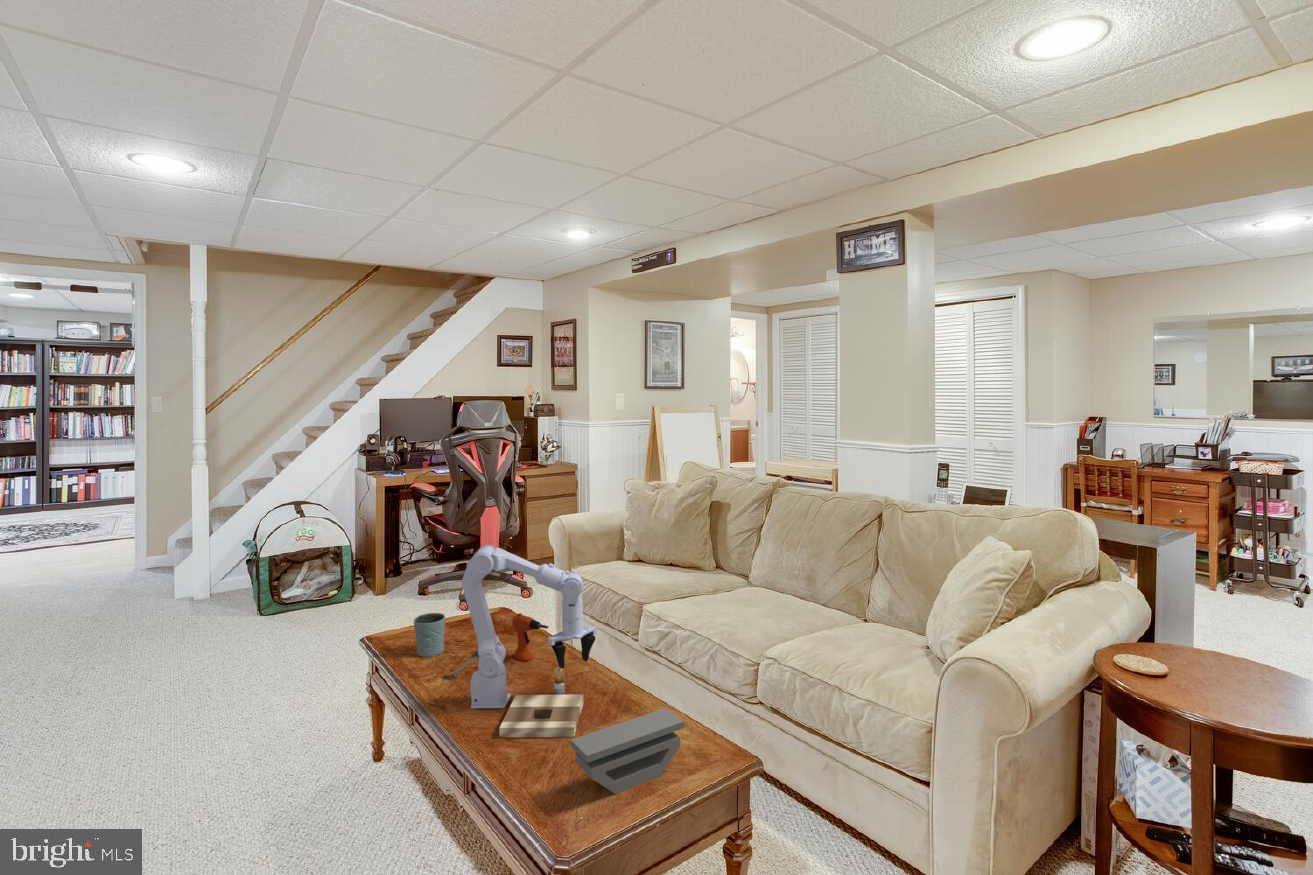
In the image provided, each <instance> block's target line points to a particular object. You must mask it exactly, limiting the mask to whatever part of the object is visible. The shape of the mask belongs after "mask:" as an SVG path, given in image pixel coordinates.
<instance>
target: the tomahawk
mask: <svg viewBox="0 0 1313 875" xmlns="http://www.w3.org/2000/svg"><path fill="white" fill-rule="evenodd" d="M477 658H479V655H478V650H476V651H474V653H473V655H472V656H471V657H469V658H468V659H467V660H466V661H465V662H463V663H462V664H461V665H460V666H458V667H457V668H456V669H455V670H453V672H452V673H451V674H450V675H447V674H445V675H443V676H442V679H443V678H447V679H446V680H450V679H455V680H454V681H456V680H457V679H456V677H457V676H458V673H460V672H461V671H462V670H463V669H465V668H466V667H467V666H468V665H470V663H472V662H473V661H475V659H477ZM453 676H454V677H453Z"/></svg>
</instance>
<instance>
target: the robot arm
mask: <svg viewBox="0 0 1313 875" xmlns="http://www.w3.org/2000/svg"><path fill="white" fill-rule="evenodd" d="M548 563H549V562H548ZM493 569H494V571H495V572H498V571H501V570H505V569H510V570H513V571H516V572H518V573H522V574H524V575H527V576H530V577H533V578H534V580H535V583H537V584H539V585H542V586H544V587H547V588H549V589H551V590H553V591H556V592H560V593H561V594H562V595H561V596H562V602H561V608H562V609H561V614H562V615H561V620H562V622H561V623H562V631H560V632H558V633H555V634H553V635H550V636H548V637H547V641H548V642H547V644H548V645H550V647H551V648H552V650H553V653H554V655H555V657H556V660H557V664H558V665H557V666H559V667H560V668H564V669H565V663H566V662H565V654H566V650H567V646H566V645H564V642H567V641H571V640H574V639H575V640H579V639H580V644H581V659H582V660H583V661H584V662H588V661H589V657H590V653H591V649H592V647H593V645H594V643H595V641H596V636H595V635H597V631H598V630H597V627H596V626H595V625H589V626H584V624H583V622H584V619H583V618H584V616H583V614H584V613H583V594H582V592H583V579H582V577H581V575H580V574H578V573H576V571H569V570H566V571H565V570H563V569H560V568H558V567H555V566H554V564H553V563H551V562H550V563H549V564H547V563H543V564H540V565H538V564H536V563H533V562H531V561H529V560H527V559H525V558H522V557H521V556H518V555H516V554H513V553H511V552H508V551H507V550H505V549H503V548H500V547H495V546H494V545H490V544H485V545H482V546H481V547H479V548H478V549H477V551H476V552H475V553H474V554H473V556H472V557H471V558H470V559H469V561H468V562H467V563H466V569H465V571H464V573H463V577H462V579H461V585H462V591H463V593H464V597H465V601H466V604H467V608H468V610H469V614H470V617H471V622H472V625H473V629H474V632H475V636H476V640H477V651H478V664H477V667H478V670H476V671H474V672H473V673H472V676H471V679H470V680H471V681H470V697H471V698H470V699H471V700H470V701H471V706H470V708H471V709H505V708H506V706H507V704H508V702H509V700H510V698H511V696H512V693H508V692H507V690H508V689H507V687H508V686H507V685H508V684H507V668H506V666H505V664H504V660H505V658H506V655H507V650H506V647H505V646H504V645H503V644H502V642H501V641H500V637H499V636H498V635H497V634H496V630H495V627H494V624H493V620H492V617H491V612H490V609H489V606H488V603H487V602H488V601H487V598H486V595H485V592H484V588H483V584H482V581H483V579H484V578H485V577H487V575H488V574H489V573H491V572H492V570H493Z"/></svg>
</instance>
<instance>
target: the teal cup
mask: <svg viewBox="0 0 1313 875" xmlns="http://www.w3.org/2000/svg"><path fill="white" fill-rule="evenodd" d="M445 623H446V615H445V614H443V613H440V612H430V613H423V614H419V615H418V616H416V617H415V618H414V619H413V627H414V632H415V633H414V635H415V642H416V654H417V656H418V655H419V657H420V656H423V657H422V658H432V656H433V657H436V655H437V656H439V655H438V654H440V655H442V654H443V653H444V651H445V626H446V624H445Z"/></svg>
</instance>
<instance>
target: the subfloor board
mask: <svg viewBox="0 0 1313 875" xmlns="http://www.w3.org/2000/svg"><path fill="white" fill-rule="evenodd" d="M584 703H585V702H584V694H580V693H579V694H577V693H576V694H573V693H572V694H565V695H555V694H515V695H514V698H513V700H512V702H511V704H510V706H509V707H508V709H507V712H506V714H505V716H504V717H503V720H502V722H501V723H500V726H499V728H498V729H499V731H498V732H499V738H575V736H576V733H575V732H577V728H578V725H579V722H580V718H581V714H582V711H581V710H583V706H584ZM579 717H580V718H579Z"/></svg>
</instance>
